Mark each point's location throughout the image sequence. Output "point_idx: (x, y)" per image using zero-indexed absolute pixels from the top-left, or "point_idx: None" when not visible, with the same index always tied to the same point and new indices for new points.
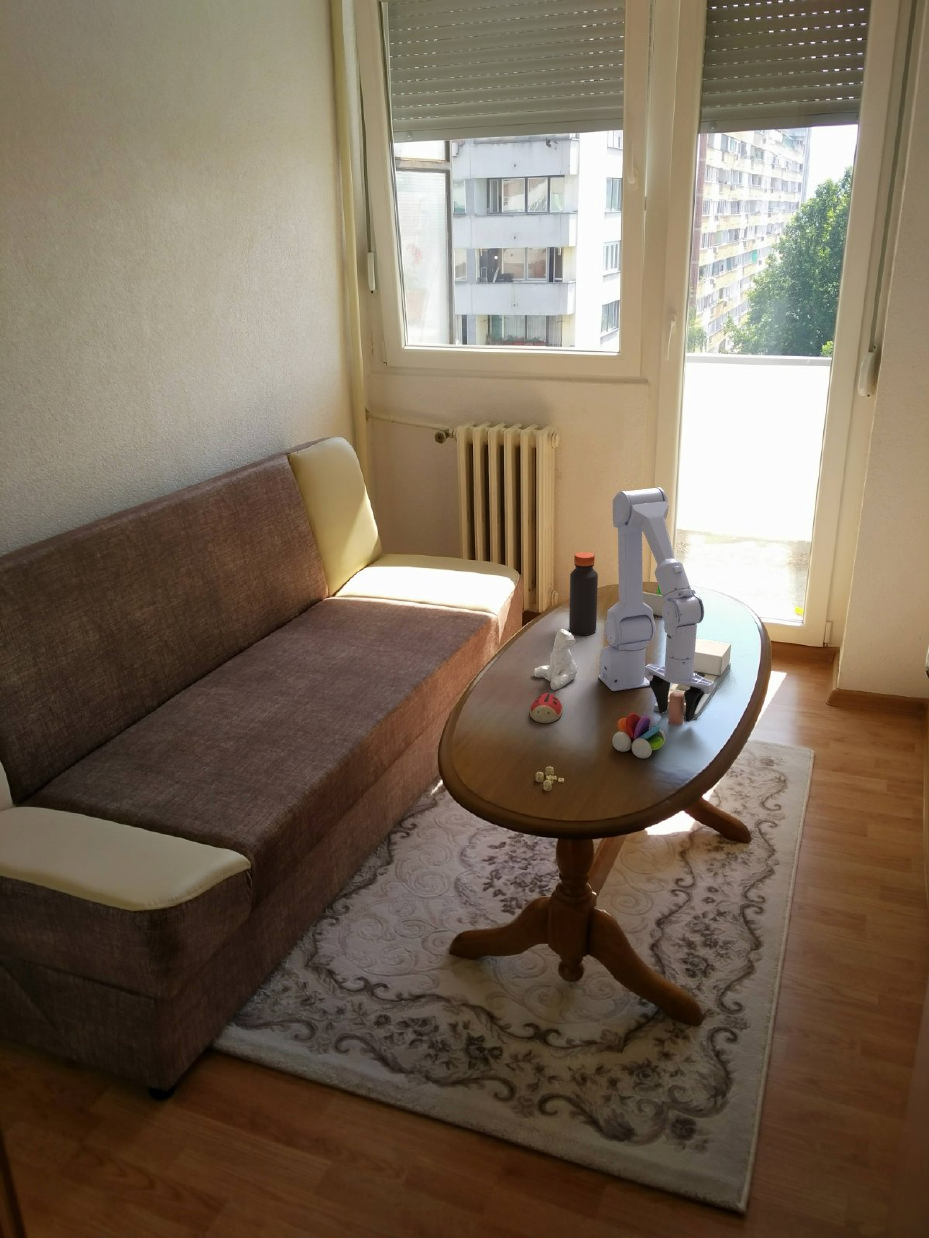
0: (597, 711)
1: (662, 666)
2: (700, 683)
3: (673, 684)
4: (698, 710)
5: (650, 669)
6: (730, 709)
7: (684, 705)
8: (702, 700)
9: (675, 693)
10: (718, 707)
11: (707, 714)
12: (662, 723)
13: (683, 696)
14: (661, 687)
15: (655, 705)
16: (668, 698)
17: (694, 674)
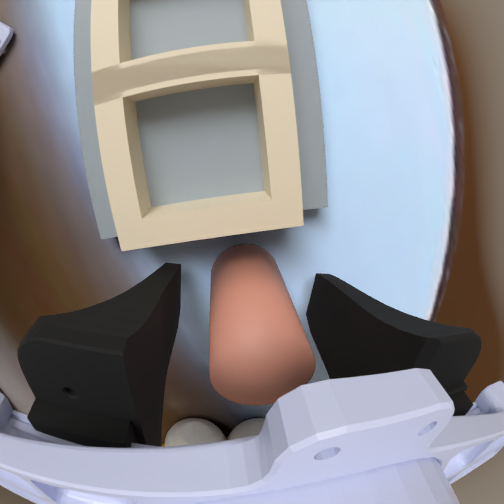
0: (7, 336)
1: (28, 478)
2: (459, 478)
3: (92, 15)
4: (322, 166)
5: (33, 497)
6: (403, 45)
7: (266, 229)
8: (297, 43)
9: (239, 360)
10: (359, 40)
11: (345, 128)
12: (203, 314)
13: (307, 364)
14: (156, 433)
15: (106, 238)
16: (138, 189)
17: (452, 456)
